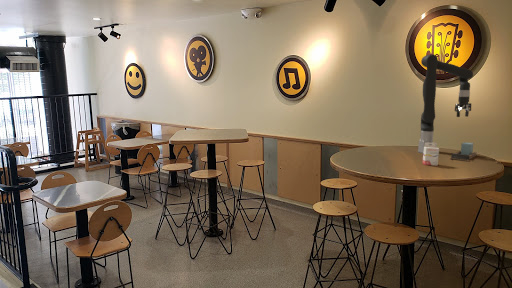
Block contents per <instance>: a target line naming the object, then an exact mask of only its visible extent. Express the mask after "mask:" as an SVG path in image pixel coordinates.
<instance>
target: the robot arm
mask: <svg viewBox="0 0 512 288" xmlns="http://www.w3.org/2000/svg"><path fill="white" fill-rule="evenodd" d="M420 62H421V65H422V66H423V67H424V68H426V74H425V78H424V81H423V83H422V98H423V112H422V113H421V114H420V115H421V117H420V137H419V140H418V147H417V148H418V149H417V152H418V153H421V154H423V152H424V145H425V142H426V143H434V130H435V127H434V121H435V119H436V110H435V105H436V103H435V102H436V91H437V71H438V70H439V71H441V72H444V73H446V74H450V75H453V76H457V77H458V81H459V92H458V103H455V105H454V106H455V107H454V112H455V113H456V118H460V116H461V111H462V110H464V111H465V113H464V117H467V118H469V114H470V113H469V112H471V111H472V103H470V96H471V83H470V82H469V80H470V79H472V78H473V76H474V72H473V71H472V70H471V69H468V68H464V67H461V66H458V65H455V64H452V63H449V62H444V61H440V60H439V59H438V56H437V55H435V54H433V53H432V54H427V55H424V56H422V58H421V61H420ZM429 145H433V144H429Z"/></svg>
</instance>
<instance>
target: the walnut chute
mask: <svg viewBox="0 0 512 288" xmlns="http://www.w3.org/2000/svg"><path fill="white" fill-rule="evenodd" d="M477 154H478V153H477V152H476V151H474V152H472V154H470V155H464V154H461V150H459V151H457V152H454V153H453V152H452V153H451V158H450V161H459V162H467V163H470V162H471V159H473V158H475V157H476V156H477Z"/></svg>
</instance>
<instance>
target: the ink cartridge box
mask: <svg viewBox="0 0 512 288" xmlns="http://www.w3.org/2000/svg"><path fill="white" fill-rule="evenodd" d="M429 144H433V145H429ZM439 154H440V148H439V147H438V143H437V142H433V143H426V142H425V145H424V152H423V153H422V155H423V156H422V164H423V165H424V166H439V165H438V163H439V157H440V155H439Z"/></svg>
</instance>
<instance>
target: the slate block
mask: <svg viewBox="0 0 512 288" xmlns="http://www.w3.org/2000/svg"><path fill="white" fill-rule="evenodd" d="M473 149H474V142H462V143H461V147H460V151H461V154H464V155H470V154H472V153H474V152H473Z"/></svg>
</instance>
